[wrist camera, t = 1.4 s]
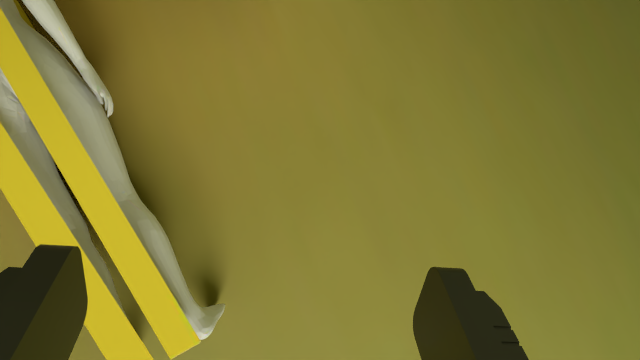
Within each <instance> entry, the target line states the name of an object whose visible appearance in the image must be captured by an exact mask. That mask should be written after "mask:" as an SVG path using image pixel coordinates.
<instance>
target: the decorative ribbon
mask: <svg viewBox="0 0 640 360" xmlns="http://www.w3.org/2000/svg"><path fill="white" fill-rule="evenodd" d="M22 1H23V3H24V4H25V6H26V7H27V8H28V9H29V11H30V12H31V13H32V14H33V16H34V17H35V18H36V20H37V21H38V22H39V23H40V25H41V26H42V27H43V28H44V29H45V30H46V31H47V32H48V33H49V34H50V35H51V37H52V38H53V39H54V40H55V41H56V42H57V44H58V45H59V46H60V47H61V48H62V49H63V51H64V52H65V53H66V54H67V55H68V57H69V58H70V59H71V61H72V62H73V64H74V65H75V66H76V68H77V69H78V71H79V72H80V74H81V75H82V77H83V79H84V81H85V82H86V83H87V84H86V83H85V82H84V81H83V79H82V78H81V77H80V76H79V75H78V73H77V72H76V71H75V70H74V68H73V67H72V66H71V65H70V63H69V62H68V61H67V59H66V58H65V57H64V56H63V55H62V54H61V53H60V52H59V51H58V50H57V49H56V48H55V47H54V46H53V45H52V44H51V43H50V42H49V41H48V40H47V39H46V38H45V37H43V36H42V35H41V34H39V33H38V32H37V31H36V30H35V28H34V27H33V25H32V24H31V22H30V20H29V19H28V17H27V15H26V14H25V12H24V10H23V9H22V7H21V6H20V4H19V2H18V1H17V0H0V188H1V190H2V192H3V193H4V195H5V197H6V198H7V200H8V201H9V203H10V205H11V206H12V208H13V210H14V211H15V213H16V214H17V216H18V218H19V219H20V221H21V223H22V224H23V226H24V227H25V229H26V231H27V232H28V234H29V235H30V237H31V239H32V240H33V242H34V244H35V245H36V247H37V246H38V245H40V244H46V245H64V246H78V247H79V248H80V251H81V255H82V262H83V268H84V275H85V282H86V289H87V296H88V306H87V313H86V317H85V321H84V324H85V326H86V328H87V329H88V331H89V332H90V334H91V336H92V337H93V339H94V341H95V342H96V344H97V345H98V347H99V349H100V350H101V352H102V353H103V355H104V357H105V358H106V360H154V359H153V358H152V356H151V355H150V353H149V352H148V350H147V349H146V347H145V345H144V344H143V342H142V341H141V339H140V338H139V336H138V335H137V333H136V332H135V330H134V328H133V327H132V325H131V324H130V322H129V320H128V318H127V316H126V314H125V312H124V310H123V308H122V305H121V302H120V300H119V297H118V294H117V291H116V289H115V286H114V283H113V280H112V277H111V274H110V272H109V270H108V268H107V266H106V264H105V262H104V260H103V259H102V257H101V255H100V254H99V252H98V251H97V249H96V248H95V246H94V244H93V243H92V241H91V237H90V234H89V230H88V227H87V224H86V223H85V221H84V219H83V217H82V216H81V214H80V212H79V210H78V209H77V207H76V205H75V203H74V201H73V200H72V198H71V196H70V194H69V192H68V190H67V189H66V187H65V185H64V183H63V181H62V180H61V178H60V176H59V174H58V171H57V168H56V166H55V163H56V164H57V166H58V168H59V170H60V171H61V173H62V175H63V176H64V178H65V180H66V182H67V183H68V185H69V187H70V188H71V190H72V192H73V194H74V195H75V197H76V199H77V200H78V202H79V204H80V206H81V207H82V209H83V211H84V212H85V214H86V216H87V217H88V219H89V221H90V223H91V224H92V226H93V228H94V229H95V231H96V233H97V235H98V236H99V238H100V240H101V241H102V243H103V245H104V247H105V248H106V250H107V252H108V253H109V255H110V257H111V259H112V260H113V262H114V264H115V265H116V267H117V269H118V270H119V272H120V274H121V276H122V277H123V279H124V281H125V282H126V284H127V286H128V288H129V289H130V291H131V293H132V294H133V296H134V298H135V300H136V301H137V303H138V305H139V306H140V308H141V310H142V312H143V313H144V315H145V317H146V318H147V320H148V322H149V323H150V325H151V327H152V329H153V330H154V332H155V334H156V335H157V337H158V339H159V341H160V342H161V344H162V346H163V347H164V349H165V351H166V353H167V354H168V356H169V358H170V359H173V358H174V357H176V356H178V355H180V354H181V353H183V352H185V351H187V350H188V349H190V348H192V347H194V346H195V345H197V344H199V343H201V341H200V339H201V340H202V339H205V338H207V337H208V336H209V335H210V334H211V332H212V331H213V329H214V327H215V324H216V322H217V321H218V319H219V318H220V316H221V315H222V314H223V312H224V309H225V304H217V305H213V306H209V307H200V306H199V305H198V304H197V303H196V302H195V301H194V299H193V297H192V295H191V293H190V292H189V290H188V287H187V285H186V282H185V280H184V277H183V275H182V272H181V270H180V267H179V265H178V262H177V259H176V256H175V254H174V251H173V249H172V246H171V244H170V241H169V239H168V237H167V235H166V233H165V232H164V230H163V228H162V226H161V225H160V223H159V222H158V220H157V219H156V217H155V216H154V215H153V214H152V213H151V212H150V211H149V209H148V208H147V207H146V206H145V205H144V204H143V203H142V201H141V200H140V198H139V197H138V195H137V193H136V191H135V189H134V187H133V185H132V183H131V181H130V178H129V175H128V172H127V169H126V166H125V163H124V160H123V157H122V154H121V151H120V148H119V146H118V143H117V140H116V138H115V135H114V133H113V130H112V127H111V125H110V122H109V120H108V118H107V117H109V115H112V112H113V102H112V98H111V95H110V93H109V91H108V90H107V88H106V87H105V85H104V84H103V82H102V81H101V79H100V77H99V76H98V74H97V73H96V71H95V70H94V68H93V67H92V65H91V64H90V63H89V61H88V60H87V59H86V58H85V56H84V54H83V52H82V50H81V48H80V46H79V44H78V42H77V41H76V39H75V37H74V35H73V33H72V32H71V30H70V28H69V26H68V24H67V23H66V21H65V19H64V17H63V15H62V14H61V12H60V10H59V8H58V7H57V5H56V3H55V2H54V0H22ZM88 86H89V87H90V88H91V89H90V88H89V87H88ZM93 92H94V93H93ZM95 95H96V96H95ZM102 97H103V98H104V101H105V110H106V108H107V116H106V113H105V111H104V109H103V107H102V105H101V104H104V103H103V98H102ZM53 159H54V161H55V163H54V161H53Z"/></svg>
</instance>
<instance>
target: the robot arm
mask: <svg viewBox="0 0 640 360" xmlns="http://www.w3.org/2000/svg"><path fill="white" fill-rule="evenodd" d="M87 306H88V296H87V289H86V282H85V275H84V268H83V262H82V255H81V251H80V248H79V247H78V246H64V245H46V244H40V245H38V246H37V247H36V248H35V249H34V251H33V252H32V254H31V255H30V257H29V258H28V260H27V261H26V263H25V264H24V266H23V268H17V267H8V268H7V269H5V270H4V271H2V272H1V273H0V360H68V359H69V357H70V354H71V352H72V350H73V347H74V345H75V343H76V340H77V338H78V336H79V334H80V331H81V329H82V327H83V324H84V321H85V317H86V313H87ZM413 331H414V336H415V340H416V343H417V346H418V350H419V353H420V356H421V359H422V360H529V359H528V358H527V356H526V354H525V352H524V350H523V348H522V346H519V341H518V339H517V337H516V335H515V333H514V332H513V330H511V326H510V324H509V322H508V320H507V319H506V317H505V315H504V313H503V311H502V309H501V308H500V307H499V306H498V305H497V304H496V303H495V302H494V301H493V300H492V299H491V298H490V297H489V296H488V295H487V294H486V293H485V292H484V291H475V288H474V286H473V284H472V282H471V280H470V278H469V276H468V274H467V273H466V271H465V270H463V269H460V268H441V267H432V268H430V270H429V271H428V273H427V276H426V279H425V282H424V285H423V288H422V291H421V294H420V296H419V299H418V302H417V305H416V308H415V311H414V316H413Z"/></svg>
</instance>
